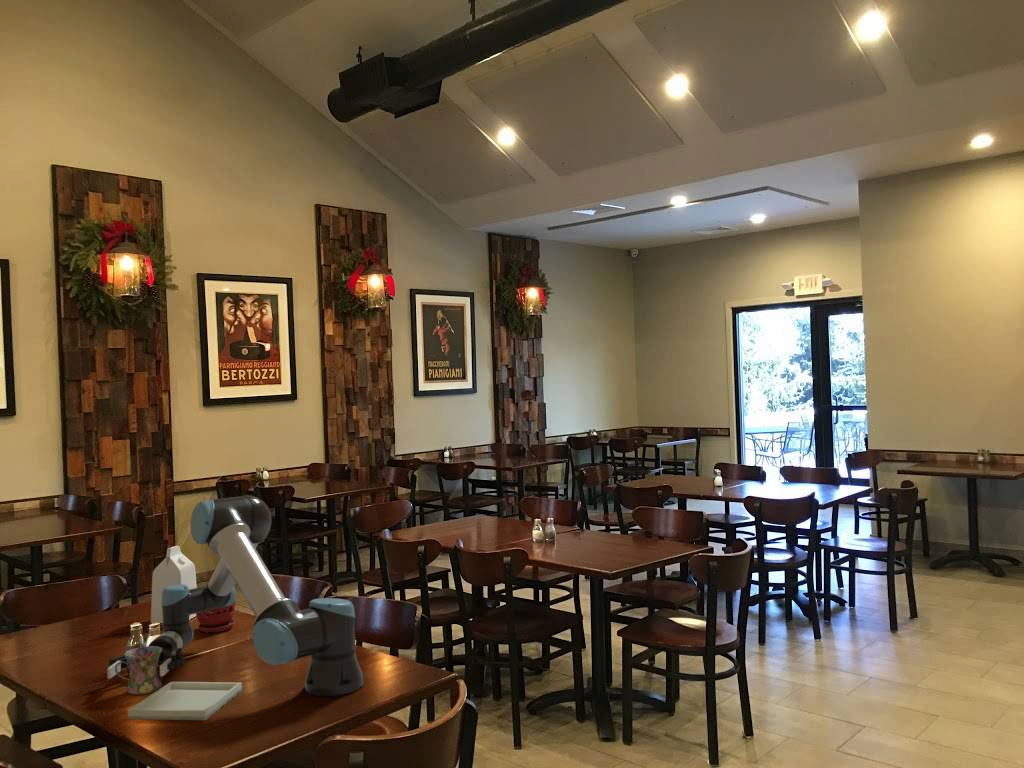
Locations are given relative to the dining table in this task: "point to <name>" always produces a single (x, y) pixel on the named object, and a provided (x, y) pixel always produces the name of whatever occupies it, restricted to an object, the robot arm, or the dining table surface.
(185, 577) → the milk
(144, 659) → the mug
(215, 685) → the tray
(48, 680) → the dining table surface
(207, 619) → the plant pot
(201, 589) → the robot arm
